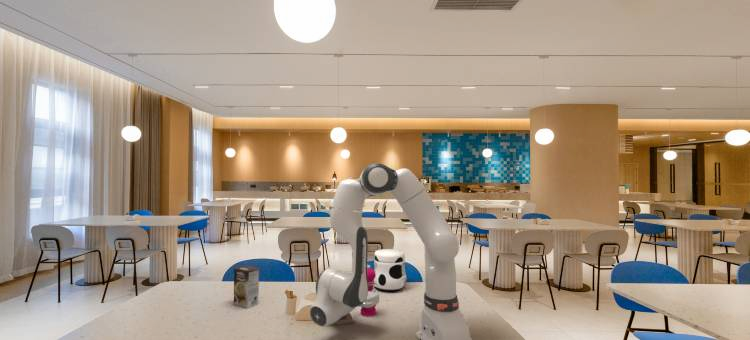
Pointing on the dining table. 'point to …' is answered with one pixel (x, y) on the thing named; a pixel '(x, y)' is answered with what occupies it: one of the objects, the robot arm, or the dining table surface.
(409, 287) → the dining table surface
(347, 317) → the caddy board
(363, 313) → the pepper mill
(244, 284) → the coffee box
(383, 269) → the milk container
